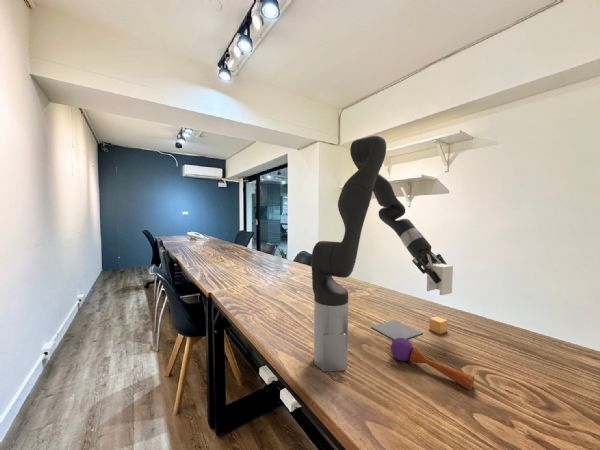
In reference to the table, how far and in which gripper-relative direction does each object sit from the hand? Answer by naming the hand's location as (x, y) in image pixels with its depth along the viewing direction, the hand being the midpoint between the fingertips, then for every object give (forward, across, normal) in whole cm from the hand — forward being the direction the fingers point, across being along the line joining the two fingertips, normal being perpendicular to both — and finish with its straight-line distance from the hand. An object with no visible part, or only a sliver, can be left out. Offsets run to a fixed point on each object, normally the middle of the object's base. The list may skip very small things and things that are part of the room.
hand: (444, 281), depth 88 cm
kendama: (+21, -24, +5) cm, 32 cm away
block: (+11, 0, +14) cm, 18 cm away
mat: (+7, -13, +19) cm, 24 cm away
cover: (+2, 0, +4) cm, 5 cm away
